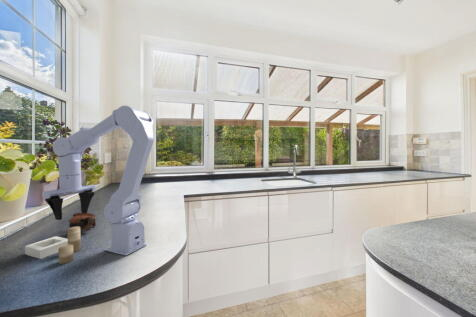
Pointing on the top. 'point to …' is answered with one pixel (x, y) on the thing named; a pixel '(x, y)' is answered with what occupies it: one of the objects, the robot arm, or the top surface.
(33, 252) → the collar
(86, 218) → the pottery mug
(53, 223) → the top surface
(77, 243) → the long pin
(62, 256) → the short pin
